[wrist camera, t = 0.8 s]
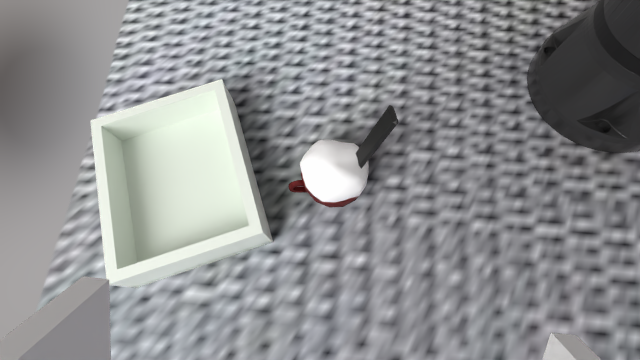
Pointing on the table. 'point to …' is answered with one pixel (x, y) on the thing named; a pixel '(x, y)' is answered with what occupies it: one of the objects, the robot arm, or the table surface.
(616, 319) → the table surface
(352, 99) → the table surface
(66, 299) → the robot arm
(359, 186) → the cocoa
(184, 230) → the bin
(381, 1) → the table surface
